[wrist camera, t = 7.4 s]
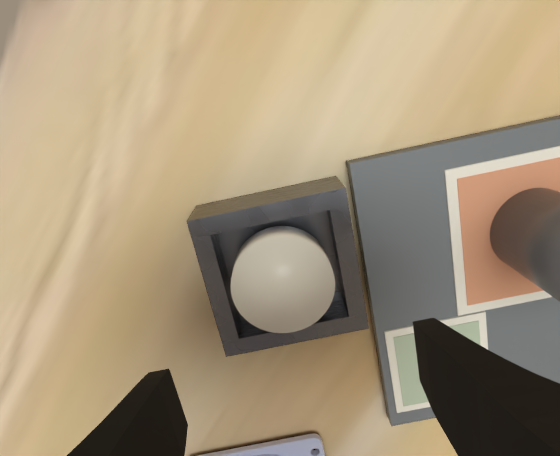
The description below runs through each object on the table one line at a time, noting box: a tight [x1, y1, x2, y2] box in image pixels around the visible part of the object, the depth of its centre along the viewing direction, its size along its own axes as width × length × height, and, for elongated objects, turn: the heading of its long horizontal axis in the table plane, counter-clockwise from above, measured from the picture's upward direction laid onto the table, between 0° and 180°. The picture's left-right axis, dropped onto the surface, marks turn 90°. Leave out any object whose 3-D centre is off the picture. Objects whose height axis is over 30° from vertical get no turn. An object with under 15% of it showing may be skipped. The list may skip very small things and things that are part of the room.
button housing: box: [187, 176, 369, 357], centre depth 20 cm, size 7×7×3 cm
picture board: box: [346, 115, 560, 426], centre depth 21 cm, size 15×14×1 cm
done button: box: [231, 226, 335, 333], centre depth 19 cm, size 4×4×2 cm
